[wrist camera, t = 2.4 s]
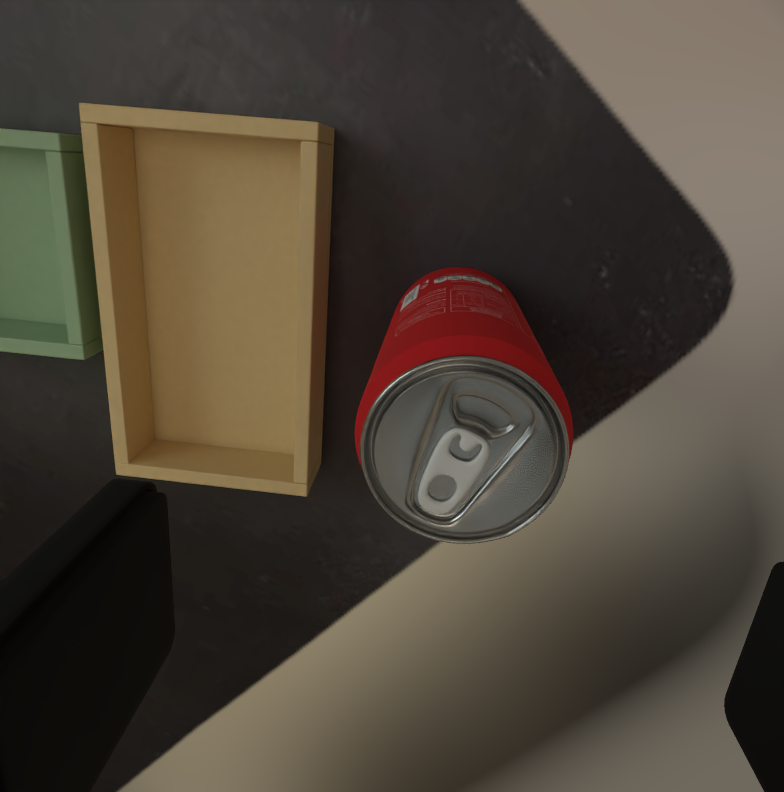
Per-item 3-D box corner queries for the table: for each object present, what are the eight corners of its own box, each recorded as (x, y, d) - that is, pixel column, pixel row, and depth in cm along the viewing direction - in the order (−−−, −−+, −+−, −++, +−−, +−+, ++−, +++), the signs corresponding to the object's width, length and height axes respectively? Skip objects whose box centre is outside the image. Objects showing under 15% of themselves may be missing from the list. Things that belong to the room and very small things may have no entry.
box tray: (123, 110, 23) (77, 102, 20) (334, 128, 22) (318, 122, 19) (149, 444, 28) (115, 475, 25) (321, 463, 27) (307, 497, 25)
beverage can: (543, 296, 24) (628, 408, 13) (483, 404, 26) (510, 585, 14) (426, 240, 23) (407, 304, 12) (374, 353, 25) (315, 499, 14)
